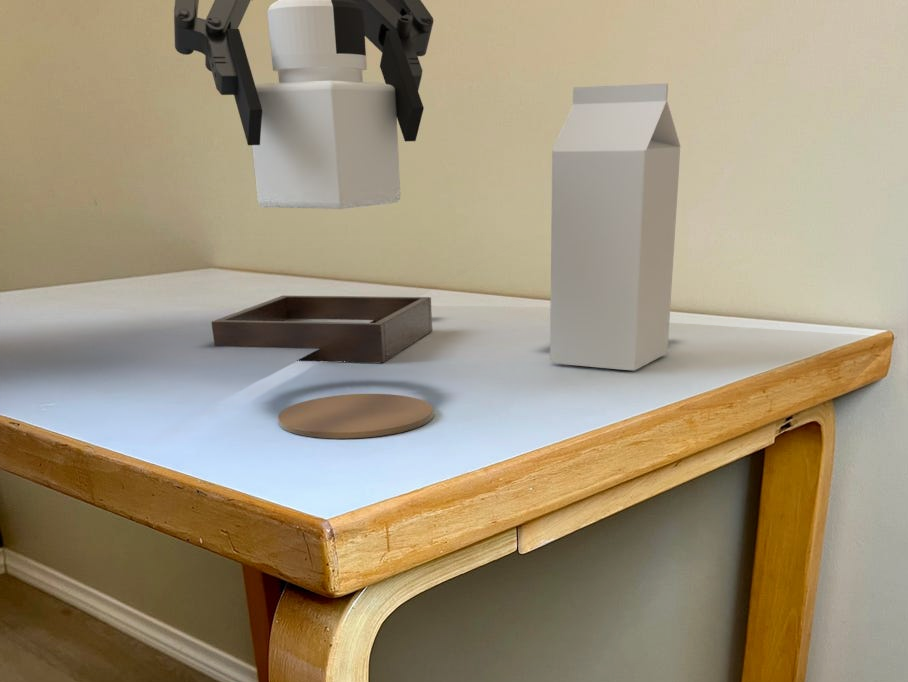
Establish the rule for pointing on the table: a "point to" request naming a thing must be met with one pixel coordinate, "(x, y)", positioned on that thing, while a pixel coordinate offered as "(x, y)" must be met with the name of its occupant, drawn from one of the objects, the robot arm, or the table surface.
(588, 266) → the milk carton
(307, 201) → the medicine bottle
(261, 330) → the walnut frame box
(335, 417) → the cork coaster
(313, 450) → the table surface
